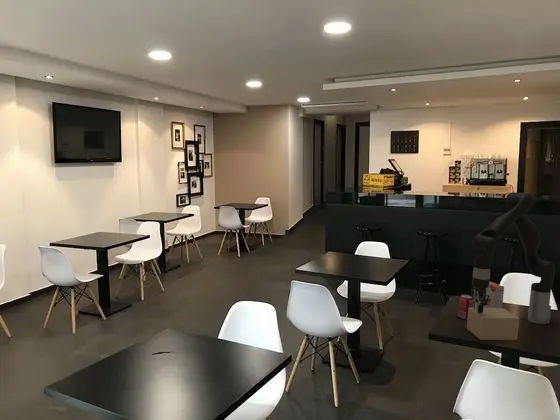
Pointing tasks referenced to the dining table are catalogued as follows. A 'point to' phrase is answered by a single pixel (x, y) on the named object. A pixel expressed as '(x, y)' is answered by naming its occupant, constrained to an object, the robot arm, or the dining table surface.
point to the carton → (492, 328)
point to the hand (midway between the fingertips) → (478, 310)
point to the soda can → (464, 306)
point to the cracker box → (494, 295)
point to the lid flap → (493, 313)
